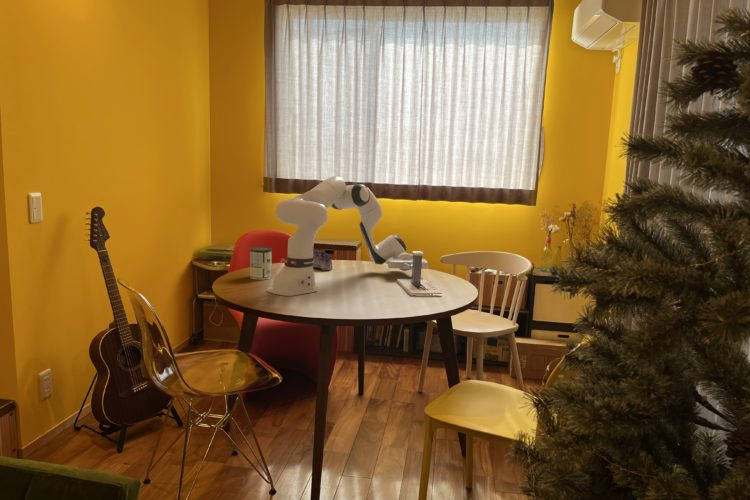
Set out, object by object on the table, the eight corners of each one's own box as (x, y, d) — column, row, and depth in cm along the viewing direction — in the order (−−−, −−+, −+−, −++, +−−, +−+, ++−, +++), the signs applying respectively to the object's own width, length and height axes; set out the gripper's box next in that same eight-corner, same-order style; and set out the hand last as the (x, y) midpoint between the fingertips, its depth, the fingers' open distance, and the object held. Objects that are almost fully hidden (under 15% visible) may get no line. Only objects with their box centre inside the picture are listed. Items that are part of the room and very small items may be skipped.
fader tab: (410, 284, 265) (411, 251, 263) (419, 284, 266) (421, 251, 264) (412, 286, 261) (414, 252, 259) (421, 287, 262) (423, 252, 259)
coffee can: (253, 274, 273) (253, 246, 271) (274, 276, 272) (274, 247, 270) (246, 279, 263) (246, 249, 260) (268, 280, 262) (268, 250, 259)
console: (397, 282, 271) (397, 278, 271) (425, 282, 274) (425, 279, 273) (410, 296, 244) (411, 292, 244) (441, 296, 247) (442, 292, 246)
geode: (340, 270, 294) (339, 252, 291) (320, 275, 288) (318, 256, 286) (324, 262, 311) (323, 244, 308) (305, 266, 306) (303, 248, 303)
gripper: (384, 255, 283) (390, 260, 270) (424, 256, 287) (431, 261, 274) (384, 267, 284) (389, 273, 271) (423, 268, 288) (430, 273, 275)
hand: (411, 267), depth 272 cm, fingers closed
